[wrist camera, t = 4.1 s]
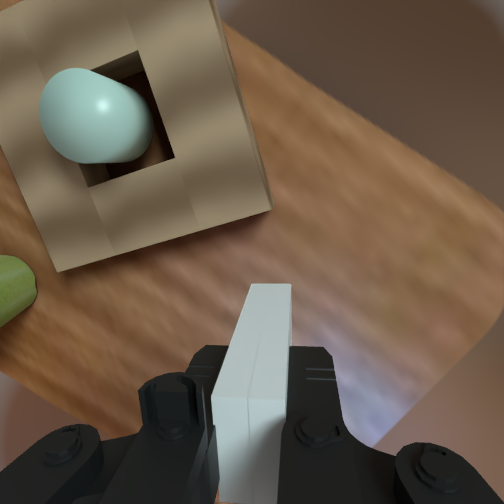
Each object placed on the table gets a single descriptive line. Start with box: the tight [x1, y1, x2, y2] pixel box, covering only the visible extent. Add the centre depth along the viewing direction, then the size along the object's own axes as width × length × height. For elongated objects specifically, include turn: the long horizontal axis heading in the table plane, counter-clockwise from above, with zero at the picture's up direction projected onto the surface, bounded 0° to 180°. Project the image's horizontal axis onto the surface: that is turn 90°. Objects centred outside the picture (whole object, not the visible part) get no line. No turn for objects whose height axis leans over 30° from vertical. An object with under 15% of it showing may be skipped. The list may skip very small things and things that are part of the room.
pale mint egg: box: [39, 68, 154, 163], centre depth 26 cm, size 6×6×5 cm
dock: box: [0, 0, 275, 272], centre depth 29 cm, size 20×20×4 cm
